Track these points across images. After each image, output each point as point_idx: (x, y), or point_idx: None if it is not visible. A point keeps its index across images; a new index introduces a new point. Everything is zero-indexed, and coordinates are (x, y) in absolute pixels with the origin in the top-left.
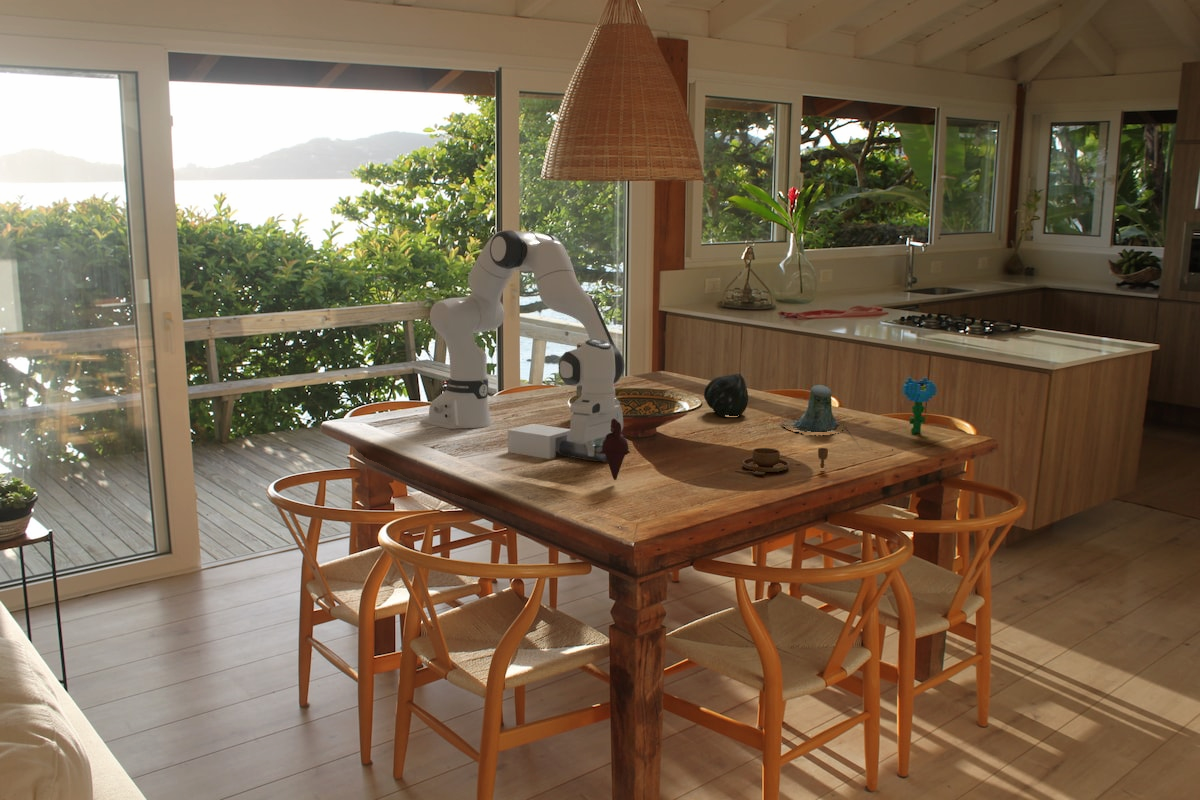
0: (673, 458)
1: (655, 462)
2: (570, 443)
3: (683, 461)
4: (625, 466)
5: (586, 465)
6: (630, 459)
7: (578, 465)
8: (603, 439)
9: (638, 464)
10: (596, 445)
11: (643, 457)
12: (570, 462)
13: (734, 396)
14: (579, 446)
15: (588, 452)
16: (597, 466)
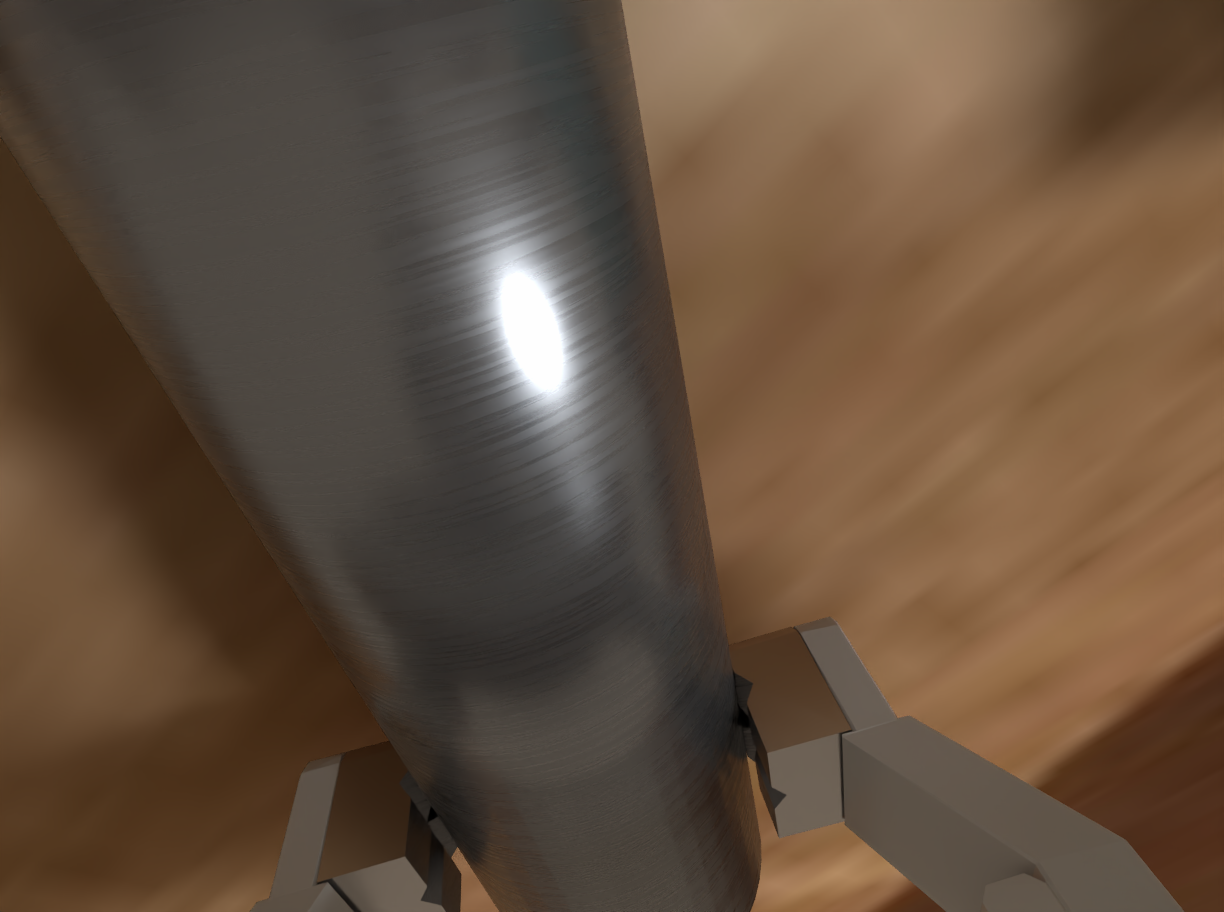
0: (1202, 822)
1: None
2: (18, 39)
3: None
4: None
5: (239, 703)
6: (964, 708)
7: (97, 654)
8: (996, 868)
9: (809, 865)
10: (601, 877)
11: (1130, 703)
12: (35, 416)
13: None
14: (282, 550)
15: (298, 829)
16: None
